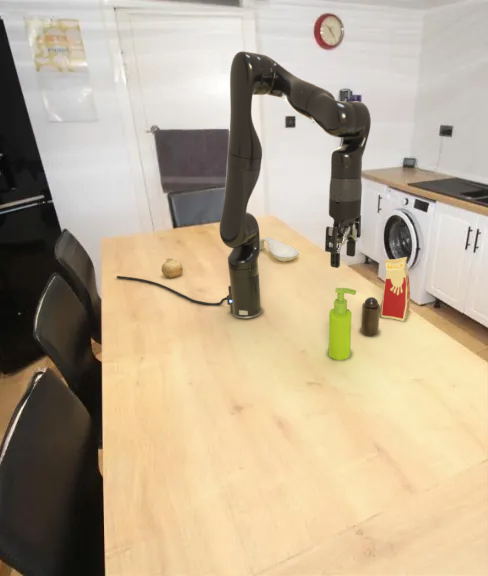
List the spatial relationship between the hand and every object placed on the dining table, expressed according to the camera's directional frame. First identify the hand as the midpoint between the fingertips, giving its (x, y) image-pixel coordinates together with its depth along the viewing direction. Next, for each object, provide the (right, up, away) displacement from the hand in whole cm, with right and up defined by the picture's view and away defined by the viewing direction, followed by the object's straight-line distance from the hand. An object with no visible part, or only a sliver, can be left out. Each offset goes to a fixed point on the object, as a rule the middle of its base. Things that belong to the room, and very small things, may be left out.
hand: (343, 261), depth 102 cm
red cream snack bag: (+19, -15, +34) cm, 41 cm away
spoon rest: (-25, +7, +81) cm, 85 cm away
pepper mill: (+9, -20, +23) cm, 32 cm away
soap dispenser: (0, -25, +12) cm, 28 cm away
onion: (-64, -2, +61) cm, 89 cm away
